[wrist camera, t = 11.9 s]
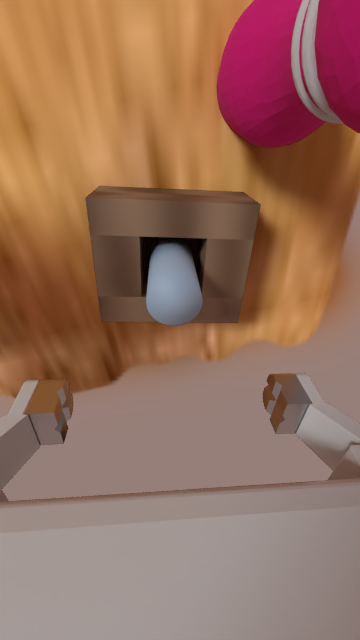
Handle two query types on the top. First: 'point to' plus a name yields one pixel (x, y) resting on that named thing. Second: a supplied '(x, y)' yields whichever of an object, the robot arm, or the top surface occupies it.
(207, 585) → the robot arm
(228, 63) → the pepper mill
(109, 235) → the socket block
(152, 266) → the peg
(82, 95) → the top surface
